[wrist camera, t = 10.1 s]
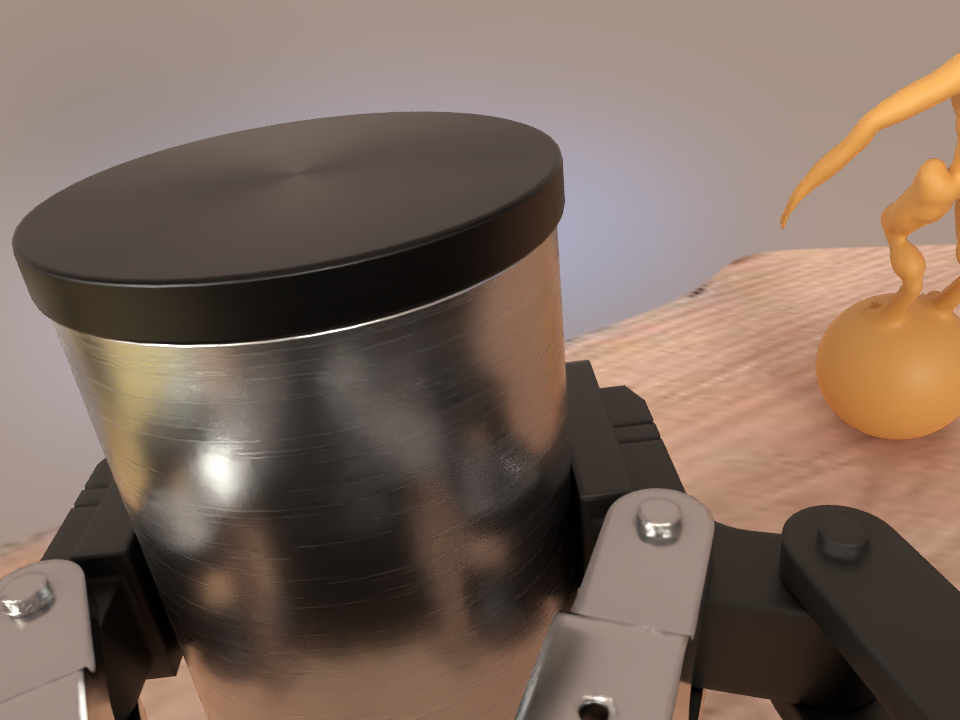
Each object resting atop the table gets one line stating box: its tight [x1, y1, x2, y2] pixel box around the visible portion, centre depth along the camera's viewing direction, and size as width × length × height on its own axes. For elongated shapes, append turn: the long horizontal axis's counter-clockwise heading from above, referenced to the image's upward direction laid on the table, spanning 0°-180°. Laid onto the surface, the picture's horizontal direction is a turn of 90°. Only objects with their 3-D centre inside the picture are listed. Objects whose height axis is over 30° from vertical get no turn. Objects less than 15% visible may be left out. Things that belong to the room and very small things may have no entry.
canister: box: [12, 112, 579, 720], centre depth 12 cm, size 6×6×12 cm
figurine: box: [780, 52, 960, 440], centre depth 20 cm, size 8×6×12 cm
